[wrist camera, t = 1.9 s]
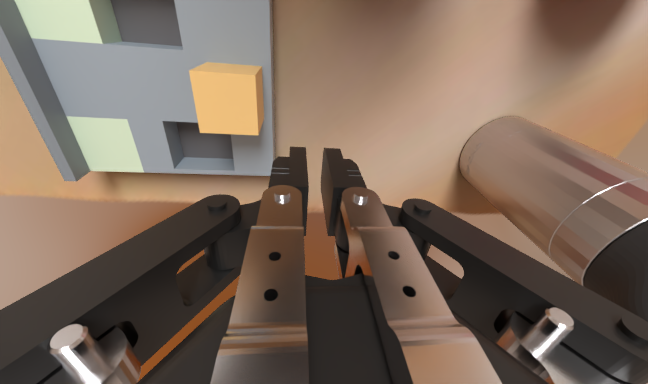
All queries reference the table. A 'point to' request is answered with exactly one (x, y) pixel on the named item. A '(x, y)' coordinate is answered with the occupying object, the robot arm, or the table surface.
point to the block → (228, 98)
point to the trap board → (136, 81)
